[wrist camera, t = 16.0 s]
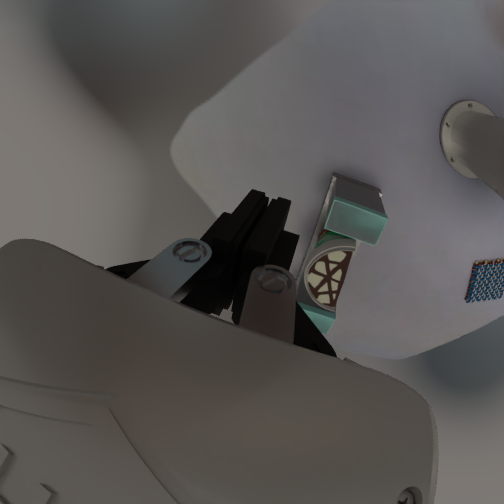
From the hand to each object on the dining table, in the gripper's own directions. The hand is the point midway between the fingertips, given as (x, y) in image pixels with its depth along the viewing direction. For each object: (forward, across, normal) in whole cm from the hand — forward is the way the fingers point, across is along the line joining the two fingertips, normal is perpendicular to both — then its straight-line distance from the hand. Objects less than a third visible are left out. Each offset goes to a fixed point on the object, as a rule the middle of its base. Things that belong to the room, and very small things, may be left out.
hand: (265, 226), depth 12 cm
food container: (+30, -7, +18) cm, 36 cm away
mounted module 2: (+30, -8, +8) cm, 32 cm away
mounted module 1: (+30, -8, +27) cm, 42 cm away
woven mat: (+33, -43, +14) cm, 56 cm away
